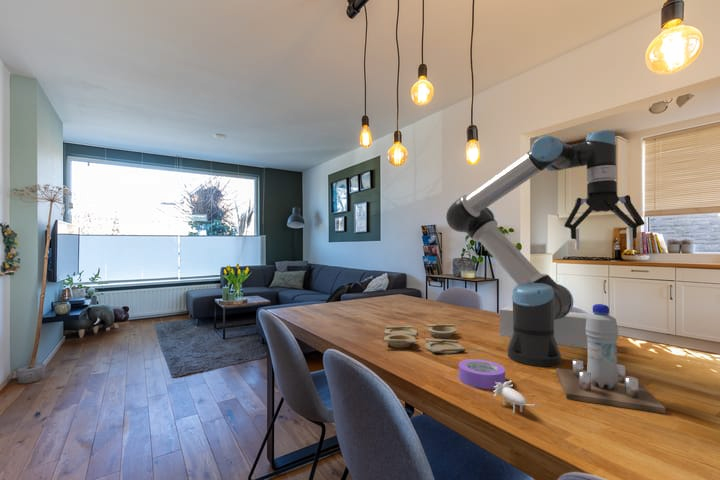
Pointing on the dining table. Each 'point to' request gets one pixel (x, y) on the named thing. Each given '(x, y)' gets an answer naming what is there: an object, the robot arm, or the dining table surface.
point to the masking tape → (481, 373)
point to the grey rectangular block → (565, 328)
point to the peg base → (608, 394)
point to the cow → (510, 395)
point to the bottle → (602, 347)
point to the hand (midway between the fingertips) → (602, 249)
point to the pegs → (630, 382)
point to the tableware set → (404, 338)
